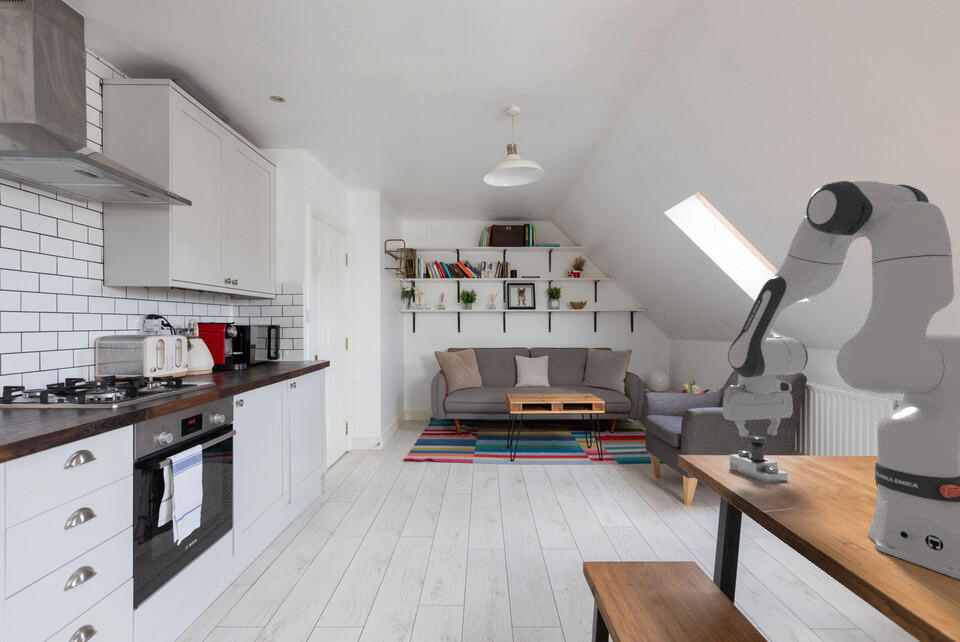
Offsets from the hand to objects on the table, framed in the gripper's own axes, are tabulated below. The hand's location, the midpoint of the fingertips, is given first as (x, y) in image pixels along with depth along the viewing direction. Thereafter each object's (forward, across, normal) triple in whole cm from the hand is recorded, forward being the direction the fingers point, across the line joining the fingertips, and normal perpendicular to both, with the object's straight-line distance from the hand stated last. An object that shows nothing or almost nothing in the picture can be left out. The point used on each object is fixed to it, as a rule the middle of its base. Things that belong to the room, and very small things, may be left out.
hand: (758, 435), depth 126 cm
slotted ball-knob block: (+11, 0, +1) cm, 11 cm away
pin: (+11, 0, +1) cm, 11 cm away
